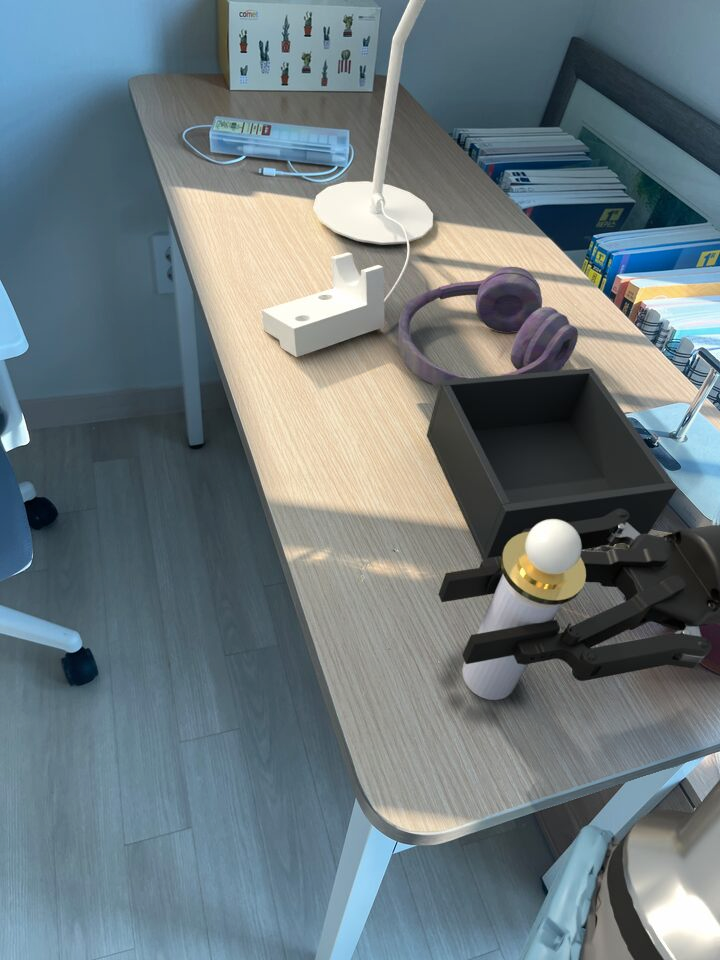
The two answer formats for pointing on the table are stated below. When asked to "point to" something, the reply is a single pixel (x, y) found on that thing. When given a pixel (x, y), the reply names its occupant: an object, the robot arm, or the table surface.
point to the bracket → (330, 310)
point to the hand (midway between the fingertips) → (456, 617)
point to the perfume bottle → (527, 596)
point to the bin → (542, 454)
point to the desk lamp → (379, 178)
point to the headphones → (500, 324)
